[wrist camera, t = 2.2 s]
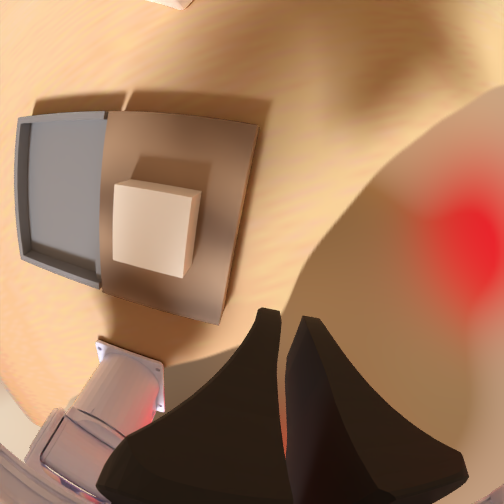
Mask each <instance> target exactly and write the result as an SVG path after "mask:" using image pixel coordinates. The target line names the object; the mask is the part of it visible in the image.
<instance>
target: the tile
mask: <svg viewBox="0 0 504 504" xmlns="http://www.w3.org/2000/svg"><path fill="white" fill-rule="evenodd" d="M201 193H202V191H198V190H193V189H187V188H181V187H176V186H170V185H164V184H158V183H152V182H146V181H139V180H132V179H129V180H126V181H123V182H120V183H117V184H115V185H114V201H113V260H115V261H118V262H122V263H126V264H129V265H133V266H137V267H140V268H144V269H148V270H152V271H155V272H159V273H163V274H167V275H171V276H175V277H179V278H183V277H184V276H185V274H186V273H187V271H188V270H189V268H190V267H191V265H192V259H193V250H194V242H195V235H196V227H197V220H198V213H199V206H200V199H201Z"/></svg>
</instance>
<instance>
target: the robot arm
mask: <svg viewBox="0 0 504 504" xmlns="http://www.w3.org/2000/svg"><path fill="white" fill-rule="evenodd" d="M280 333H281V316H280V311H277V310H272V309H267V308H260V309H258V312H257V315H256V319H255V322H254V324H253V326H252V328H251V329H250V331H249V333H248V334H247V336H246V337H245V339H244V341H243V342H242V344H241V345H240V346H239V348H238V349H237V350H236V352H235V353H234V354H233V355H232V357H231V358H230V359H229V360H228V362H227V363H226V364H225V365H224V366H223V367H222V368H221V369H220V370H219V371H218V372H217V373H216V374H215V375H214V377H212V378H211V379H210V380H209V381H208V382H207V383H206V384H205V385H204V386H202V387H201V388H200V389H199V390H198V391H197V392H195V393H194V394H193V395H192V396H191V397H189V398H188V399H187V400H185V401H184V402H182V403H181V404H180V405H178V406H177V407H175V408H174V409H173V410H171V411H170V412H168V413H167V414H165V415H164V416H162V417H160V418H159V419H157V420H155V421H154V422H152V420H153V417H154V415H155V412H156V410H157V411H160V412H164V411H165V395H164V367H163V364H162V363H161V362H160V361H157V360H154V359H150V358H147V357H144V356H141V355H138V354H136V353H133V352H130V351H127V350H124V349H122V348H119V347H116V346H114V345H111V344H108V343H106V342H103V341H101V340H97V341H96V342H95V344H96V348H97V353H98V357H99V361H100V364H99V366H98V367H97V368H96V370H95V371H94V373H93V374H92V376H91V377H90V379H89V380H88V382H87V383H86V385H85V386H84V388H83V389H82V391H81V392H80V394H79V395H78V397H77V399H76V400H75V402H74V403H73V405H72V406H71V407H70V409H69V410H68V411H67V412H66V413H65V410H64V409H62V408H59V409H58V408H54V409H53V410H52V412H51V413H50V415H49V416H48V418H47V419H46V421H45V422H44V424H43V426H42V427H41V429H40V430H39V432H38V434H37V435H36V437H35V439H34V440H33V442H32V444H31V445H30V450H29V452H28V454H27V455H26V457H25V459H24V461H25V463H26V464H25V463H24V462H22V461H21V460H19V459H18V458H17V457H16V456H15V455H13V454H12V453H11V452H10V451H9V450H8V449H6V448H5V447H4V446H3V445H2V444H1V443H0V504H432V503H434V502H436V501H438V500H440V499H441V498H443V497H445V496H447V495H448V494H450V493H451V492H453V491H455V490H456V489H458V488H459V487H460V486H461V485H463V484H464V483H465V482H466V481H467V479H468V478H469V475H468V472H467V469H466V465H465V462H464V459H463V456H462V454H461V453H460V452H459V451H457V450H455V449H453V448H451V447H449V446H447V445H445V444H443V443H441V442H439V441H437V440H436V439H434V438H432V437H431V436H429V435H428V434H426V433H425V432H423V431H422V430H420V429H419V428H417V427H416V426H415V425H413V424H412V423H411V422H409V421H408V420H407V419H405V418H404V417H403V416H402V415H401V414H399V413H398V412H397V411H396V410H394V409H393V408H392V407H391V406H390V405H389V404H388V403H387V402H386V401H385V400H384V399H383V398H382V397H381V396H380V395H379V394H378V393H377V392H376V391H374V389H373V388H372V387H371V386H370V385H369V384H368V383H367V382H366V380H365V379H364V378H363V377H362V376H361V375H360V373H359V372H358V371H357V370H356V369H355V367H354V366H353V365H352V363H351V362H350V361H349V359H348V358H347V357H346V355H345V354H344V353H343V352H342V350H341V349H340V347H339V346H338V344H337V343H336V341H335V340H334V339H333V337H332V336H331V334H330V333H329V331H328V330H327V328H326V327H325V326H324V324H323V323H322V321H321V320H320V319H319V318H313V317H308V316H302V319H301V322H300V325H299V327H298V330H297V333H296V335H295V338H294V340H293V343H292V345H291V348H290V351H289V353H288V356H287V362H286V374H285V392H286V393H285V394H286V414H287V450H286V460H285V454H284V448H283V441H282V433H281V425H280V415H279V403H278V390H277V358H278V351H279V342H280ZM45 465H47V466H48V467H49V468H51V469H52V470H54V471H55V472H57V473H58V474H59V475H61V476H63V477H64V478H66V479H67V480H69V481H70V482H72V483H73V484H75V485H77V486H78V487H80V488H82V489H84V490H85V491H87V492H89V493H91V494H92V495H94V496H96V497H94V496H92V495H89V494H87V493H86V492H84V491H82V490H80V489H79V488H77V487H75V486H74V485H72V484H70V483H69V482H67V481H66V480H64V479H63V478H61V477H60V476H58V475H57V474H55V473H54V472H52V471H51V470H49V469H48V468H47V467H46V466H45ZM473 504H504V484H503V485H501V486H500V487H498V488H497V489H495V490H494V491H492V492H491V493H490V494H489V495H487V496H485V497H483V498H482V499H480V500H478V501H476V502H474V503H473Z"/></svg>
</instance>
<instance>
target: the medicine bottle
mask: <svg viewBox="0 0 504 504" xmlns="http://www.w3.org/2000/svg"><path fill="white" fill-rule="evenodd" d="M147 1H151V2H155V3H159V4H162V5H166V6H169V7H172V8H175V9H179V10H184V9H185V8H187V6H188V5H189V4H190V3H191V2H192V1H193V0H147Z"/></svg>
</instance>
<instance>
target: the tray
mask: <svg viewBox="0 0 504 504" xmlns="http://www.w3.org/2000/svg"><path fill="white" fill-rule="evenodd" d="M108 113H109V112H108V111H87V112H67V113H54V114H43V115H34V116H27V117H20V118H18V123H17V132H16V144H15V163H14V193H15V213H16V225H17V234H18V242H19V249H20V256H21V259H22V260H24V261H26V262H28V263H31V264H33V265H36V266H38V267H40V268H43V269H45V270H48V271H50V272H53V273H55V274H58V275H61V276H63V277H66V278H68V279H71V280H74V281H77V282H79V283H82V284H85V285H88V286H91V287H93V288H96V289H100V288H101V287H102V280H101V265H100V241H99V209H100V184H101V170H102V158H103V149H104V140H105V133H106V126H107V119H108Z"/></svg>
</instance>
